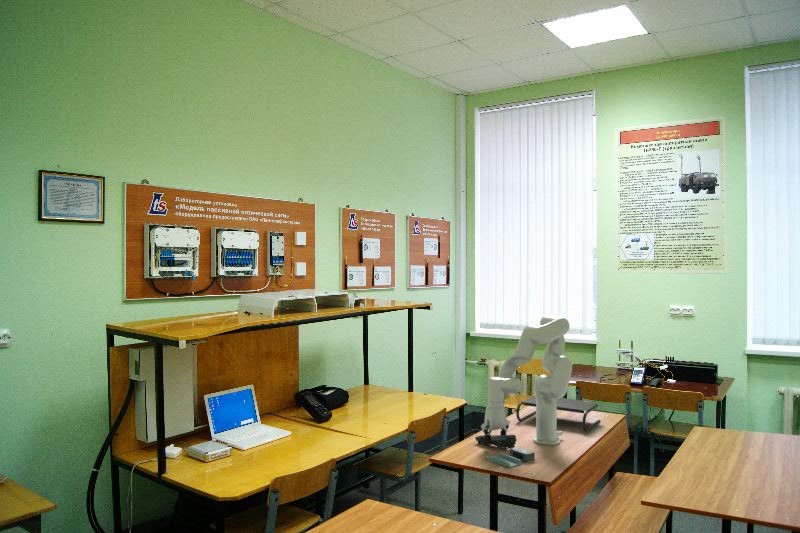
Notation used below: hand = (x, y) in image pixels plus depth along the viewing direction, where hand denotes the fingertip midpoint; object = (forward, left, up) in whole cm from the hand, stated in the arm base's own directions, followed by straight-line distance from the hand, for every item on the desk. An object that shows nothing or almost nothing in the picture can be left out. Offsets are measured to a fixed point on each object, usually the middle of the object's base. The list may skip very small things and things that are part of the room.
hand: (495, 441), depth 264 cm
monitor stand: (-59, -13, -3) cm, 60 cm away
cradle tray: (+12, +17, -3) cm, 21 cm away
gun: (0, 0, -3) cm, 3 cm away
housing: (+2, +18, -3) cm, 18 cm away
